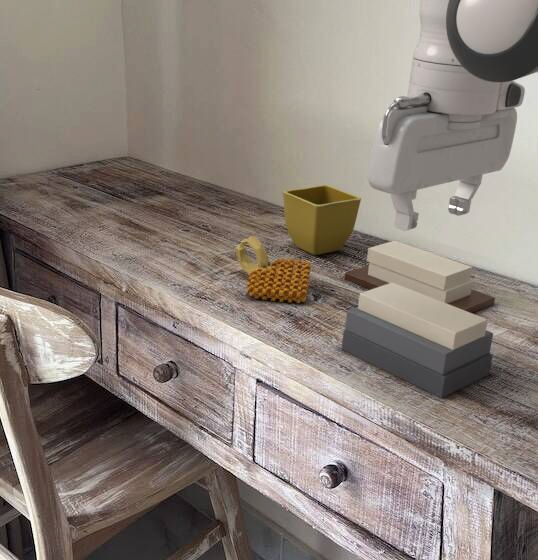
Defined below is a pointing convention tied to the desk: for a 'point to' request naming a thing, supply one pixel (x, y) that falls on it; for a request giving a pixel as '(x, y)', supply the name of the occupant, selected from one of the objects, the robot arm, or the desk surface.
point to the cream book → (423, 315)
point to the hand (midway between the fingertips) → (432, 220)
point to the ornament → (273, 274)
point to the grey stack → (416, 354)
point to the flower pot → (320, 217)
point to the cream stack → (420, 275)
